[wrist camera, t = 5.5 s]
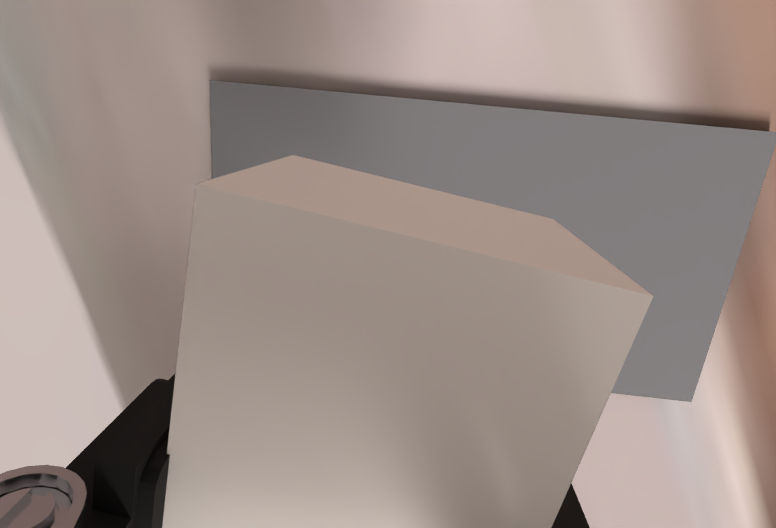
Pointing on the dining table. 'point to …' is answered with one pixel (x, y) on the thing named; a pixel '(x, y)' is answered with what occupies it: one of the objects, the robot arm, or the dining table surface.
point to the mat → (545, 190)
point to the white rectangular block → (385, 356)
